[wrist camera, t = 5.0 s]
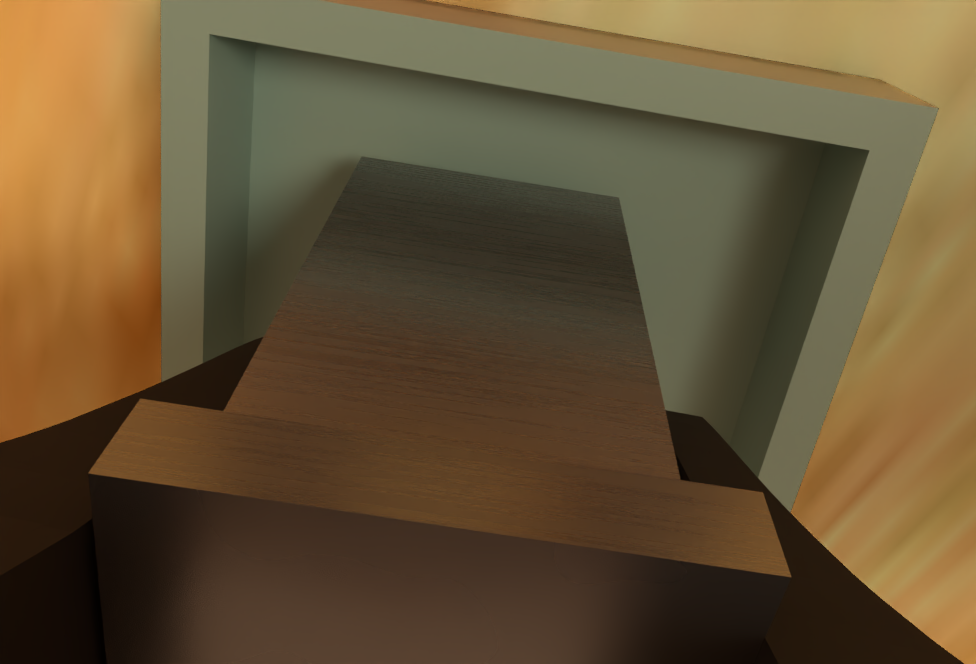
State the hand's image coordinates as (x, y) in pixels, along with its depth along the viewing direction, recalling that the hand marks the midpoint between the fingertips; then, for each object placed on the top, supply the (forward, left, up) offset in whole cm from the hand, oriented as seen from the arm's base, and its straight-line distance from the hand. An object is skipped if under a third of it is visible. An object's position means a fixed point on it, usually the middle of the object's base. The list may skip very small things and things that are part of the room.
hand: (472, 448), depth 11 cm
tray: (0, 0, -4) cm, 4 cm away
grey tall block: (0, -1, -3) cm, 3 cm away
